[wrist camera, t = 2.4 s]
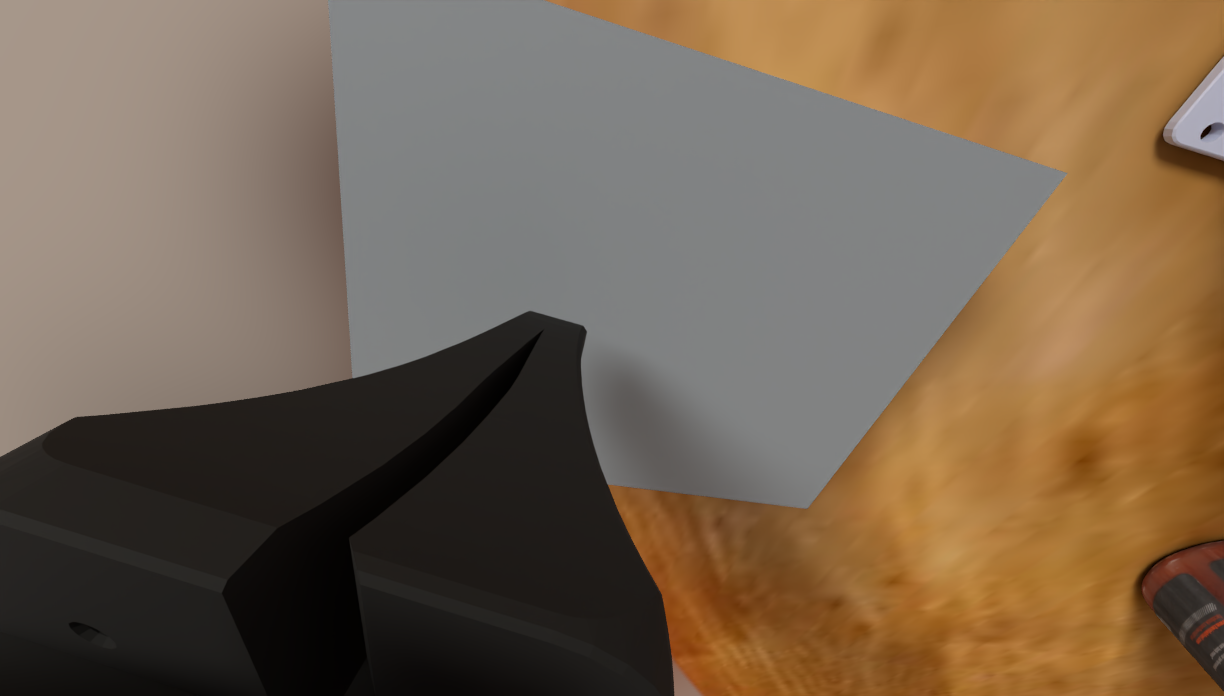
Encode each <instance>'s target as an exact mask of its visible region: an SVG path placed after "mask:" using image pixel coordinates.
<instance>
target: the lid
mask: <svg viewBox="0 0 1224 696" xmlns="http://www.w3.org/2000/svg"><path fill="white" fill-rule="evenodd" d="M328 5H329V18H330V34H331V35H330V36H331V51H332V65H333V66H332V67H333V81H334V97H335V113H336V128H337V143H338V158H339V174H340V190H341V205H342V221H343V237H344V252H345V266H346V267H345V268H346V283H347V299H348V314H349V328H350V345H351V359H352V360H351V361H352V376H353V378H357V377H361V376H365V375H368V374H372V373H375V372H379V371H382V370H386V369H389V368H392V367H396V366H399V365H402V364H405V363H408V362H411V361H414V360H417V359H420V358H423V357H426V356H428V355H431V354H433V353H436V352H438V351H441V350H443V349H446V348H448V347H451V346H453V345H456V344H458V343H461V342H463V341H466V340H468V339H470V338H472V337H475V336H477V335H479V334H481V333H483V332H485V331H488V330H490V329H492V328H494V327H496V326H498V325H500V324H502V323H505V322H507V321H509V320H511V319H513V318H515V317H517V316H519V315H521V314H523V313H525V312H528V311H533V312H537V313H540V314H544V315H547V316H551V317H555V318H558V319H562V320H565V321H569V322H572V323H576V324H579V325H583V326H584V327H585V329H586V331H587V335H586V339H585V344H584V348H583V353H582V357H581V374H582V388H583V396H584V403H585V409H586V414H587V419H588V424H589V428H590V432H591V436H592V440H593V444H594V447H595V450H596V454H597V457H598V460H599V463H600V466H601V469H602V472H603V474H604V477H605V479H606V482H607V484H609V485H617V486H625V487H633V488H641V489H649V490H658V491H666V492H674V493H682V494H690V495H698V496H707V497H715V498H723V499H731V500H739V501H748V502H756V503H764V504H772V505H780V506H788V507H797V508H805V509H808V507H809V506H810V505H811V503H812V502H813V501H814V500H815V498H816V497H817V496H818V494H819V493H820V492H821V491H822V489H823V488H824V487H825V485H826V484H827V483H828V482H829V480H830V479H831V478H832V476H833V475H834V474H835V473H836V471H837V470H838V469H839V467H840V466H841V465H842V463H843V462H844V461H845V460H846V458H847V457H848V456H849V454H850V453H851V452H852V451H853V449H854V448H855V447H856V445H857V444H858V443H859V442H860V440H861V439H862V438H863V436H864V435H865V434H866V433H867V431H868V430H869V429H870V427H871V426H872V425H873V423H874V422H875V421H876V420H877V418H878V417H879V416H880V414H881V413H882V412H883V411H884V409H885V408H886V407H887V405H888V404H889V403H890V402H891V400H892V399H893V398H894V396H895V395H896V394H897V393H898V391H899V390H900V389H901V387H902V386H903V385H904V383H905V382H906V381H907V380H908V378H909V377H910V376H911V374H912V373H913V372H914V371H915V369H916V368H917V367H918V365H919V364H920V363H921V362H922V360H923V359H924V358H925V356H926V355H927V354H928V353H929V351H930V350H931V349H932V347H933V346H934V345H935V344H936V342H937V341H938V340H939V338H940V337H941V336H942V334H943V333H944V332H945V331H946V329H947V328H948V327H949V325H950V324H951V323H952V322H953V320H954V319H955V318H956V316H957V315H958V314H959V313H960V311H961V310H962V309H963V307H964V306H965V305H966V304H967V302H968V301H969V300H970V298H971V297H972V296H973V294H974V293H975V292H976V291H977V289H978V288H979V287H980V285H981V284H982V283H983V282H984V280H985V279H986V278H987V276H988V275H989V274H990V273H991V271H992V270H993V269H994V267H995V266H996V265H997V264H998V262H999V261H1000V260H1001V258H1002V257H1003V256H1004V254H1005V253H1006V252H1007V251H1008V249H1009V248H1010V247H1011V245H1012V244H1013V243H1014V242H1015V240H1016V239H1017V238H1018V236H1019V235H1020V234H1021V233H1022V231H1023V230H1024V229H1025V227H1026V226H1027V225H1028V224H1029V222H1030V221H1031V220H1032V218H1033V217H1034V216H1035V215H1036V213H1037V212H1038V211H1039V209H1040V208H1041V207H1042V205H1043V204H1044V203H1045V202H1046V200H1047V199H1048V198H1049V196H1050V195H1051V194H1052V193H1053V191H1054V190H1055V189H1056V187H1057V186H1058V185H1059V184H1060V182H1061V181H1062V180H1063V178H1064V177H1065V176H1066V175H1067V173H1065V172H1062V171H1059V170H1056V169H1053V168H1050V167H1047V166H1044V165H1041V164H1038V163H1035V162H1032V161H1029V160H1026V159H1023V158H1020V157H1017V156H1014V155H1011V154H1008V153H1004V152H1001V151H998V150H995V149H992V148H989V147H986V146H983V145H980V144H977V143H974V142H971V141H968V140H965V139H962V138H959V137H956V136H953V135H950V134H947V133H944V132H941V131H938V130H935V129H932V128H929V127H926V126H923V125H920V124H917V123H914V122H911V121H908V120H905V119H902V118H899V117H896V116H892V115H889V114H886V113H883V112H880V111H877V110H874V109H871V108H868V107H865V106H862V105H859V104H856V103H853V102H850V101H847V100H844V99H841V98H838V97H835V96H832V95H829V94H826V93H823V92H820V91H817V90H814V89H811V88H808V87H805V86H802V85H799V84H796V83H793V82H790V81H787V80H784V79H780V78H777V77H774V76H771V75H768V74H765V73H762V72H759V71H756V70H753V69H750V68H747V67H744V66H741V65H738V64H735V63H732V62H729V61H726V60H723V59H720V58H717V57H714V56H711V55H708V54H705V53H702V52H699V51H696V50H693V49H690V48H687V47H684V46H681V45H678V44H675V43H671V42H668V41H665V40H662V39H659V38H656V37H653V36H650V35H647V34H644V33H641V32H638V31H635V30H632V29H629V28H626V27H623V26H620V25H617V24H614V23H611V22H608V21H605V20H602V19H599V18H596V17H593V16H590V15H587V14H584V13H581V12H578V11H575V10H572V9H569V8H566V7H563V6H559V5H556V4H553V3H550V2H547V1H544V0H328Z"/></svg>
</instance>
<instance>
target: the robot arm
mask: <svg viewBox="0 0 1224 696" xmlns="http://www.w3.org/2000/svg"><path fill="white" fill-rule="evenodd" d="M1209 125H1211V130H1210V132H1209V134H1208V135H1206V136H1205V137H1204V138H1203V139H1201V138H1200V135H1201V133H1202V132H1203V130H1204V129H1205V128H1206V127H1207V126H1209ZM1163 137H1164V140H1165V141H1166V142H1167V143H1169V144H1171V145H1174V146H1178V147H1181V148H1184V149H1187V150H1191V151H1194V152H1197V153H1200V154H1203V155H1207V156H1210V157H1213V158H1216V159H1220V160H1223V161H1224V56H1223V58H1222V59H1221V60H1220V61H1219V62H1218V64H1217V65H1216V66H1215V67H1214V68H1213V70H1212V71H1211V72H1210V73H1209V74H1208V75H1207V77H1206V78H1205V79H1204V80H1203V81H1202V83H1201V84H1200V85H1199V86H1198V87H1197V89H1196V90H1195V91H1194V92H1193V93H1192V94H1191V96H1190V97H1189V98H1188V99H1187V100H1186V102H1185V103H1184V104H1183V105H1182V106H1181V108H1180V109H1179V110H1178V111H1177V112H1176V113H1175V115H1174V116H1173V117H1172V118H1171V119H1170V121H1169V122H1168V124H1167V125H1166V127H1165V128H1164V132H1163ZM586 335H587V331H586V329H585V327H584V326H583V325H579V324H576V323H572V322H569V321H565V320H562V319H558V318H555V317H551V316H547V315H544V314H540V313H537V312H533V311H528V312H525V313H523V314H521V315H519V316H517V317H515V318H513V319H511V320H509V321H507V322H505V323H502V324H500V325H498V326H496V327H494V328H492V329H490V330H488V331H485V332H483V333H481V334H479V335H477V336H475V337H472V338H470V339H468V340H466V341H463V342H461V343H458V344H456V345H453V346H451V347H448V348H446V349H443V350H441V351H438V352H436V353H433V354H431V355H428V356H426V357H423V358H420V359H417V360H414V361H411V362H408V363H405V364H402V365H399V366H396V367H392V368H389V369H386V370H382V371H379V372H375V373H372V374H368V375H365V376H361V377H357V378H352V379H348V380H343V381H339V382H334V383H330V384H325V385H321V386H316V387H312V388H307V389H303V390H298V391H293V392H287V393H281V394H275V395H270V396H264V397H258V398H251V399H244V400H237V401H231V402H223V403H216V404H208V405H200V406H192V407H182V408H172V409H162V410H152V411H141V412H130V413H120V414H110V415H98V416H85V417H76V418H73V419H71V420H69V421H67V422H65V423H63V424H61V425H60V426H58V427H56V428H54V429H52V430H50V431H48V432H46V433H44V434H43V435H41V436H39V437H37V438H35V439H33V440H31V441H30V442H28V443H26V444H24V445H22V446H20V447H18V448H16V449H15V450H12V451H11V452H9V453H7V454H5V455H3V456H1V457H0V696H674V681H673V667H672V656H671V648H670V641H669V633H668V627H667V622H666V616H665V610H664V604H663V599H662V594H661V592H660V591H659V589H658V587H657V585H656V583H655V582H654V580H653V578H652V576H651V575H650V573H649V571H648V569H647V568H646V566H645V564H644V562H643V560H642V558H641V556H640V554H639V553H638V551H637V549H636V547H635V545H634V543H633V541H632V539H631V537H630V535H629V533H628V531H627V529H626V526H625V524H624V522H623V520H622V518H621V516H620V514H619V512H618V509H617V507H616V505H615V502H614V499H613V497H612V494H611V492H610V489H609V487H608V484H607V482H606V479H605V477H604V474H603V472H602V469H601V466H600V463H599V460H598V457H597V454H596V450H595V447H594V444H593V440H592V436H591V432H590V428H589V424H588V419H587V414H586V409H585V403H584V396H583V388H582V374H581V357H582V353H583V348H584V344H585V339H586Z"/></svg>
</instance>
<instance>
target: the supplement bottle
mask: <svg viewBox="0 0 1224 696" xmlns="http://www.w3.org/2000/svg"><path fill="white" fill-rule="evenodd" d="M1141 590H1142V595H1143V597H1144V599H1145V601H1146V602H1147V604H1148V605H1149V606H1150V608H1151V609H1152V610H1153V611H1154V612H1155V614H1156V615H1157V616H1158V618H1159V619H1160V620H1161V621H1162V622H1163V623H1164V624H1165V625H1166V627H1167V628H1168V629H1169V630H1170V631H1171V632H1172V633H1173V634H1174V636H1175V637H1176V638H1177V639H1178V640H1179V641H1180V642H1181V643H1182V645H1183V646H1184V647H1185V648H1186V649H1187V650H1188V652H1189V653H1190V654H1191V655H1192V656H1193V657H1194V658H1195V659H1196V660H1197V661H1198V663H1199V664H1200V665H1201V666H1202V667H1203V668H1204V670H1205V671H1206V672H1207V673H1208V674H1209V675H1210V676H1211V678H1212V679H1213V680H1214V681H1215V682H1216V683H1217V684H1218V685H1219V686H1220V688H1221V689H1222V690H1223V691H1224V541H1219V542H1212V543H1206V544H1201V545H1197V546H1194V547H1192V548H1188V549H1185V550H1182V551H1180V552H1177V553H1174V554H1172V555H1170V556H1168V557H1165V558H1163V559H1162V560H1160V561H1159V562H1158V563H1157V564H1155V565H1154V566H1153V568H1152V569H1151V570H1150V571H1149V572H1148V573H1147V574H1146V576H1145V578H1144V579H1143V582H1142V587H1141Z"/></svg>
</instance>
